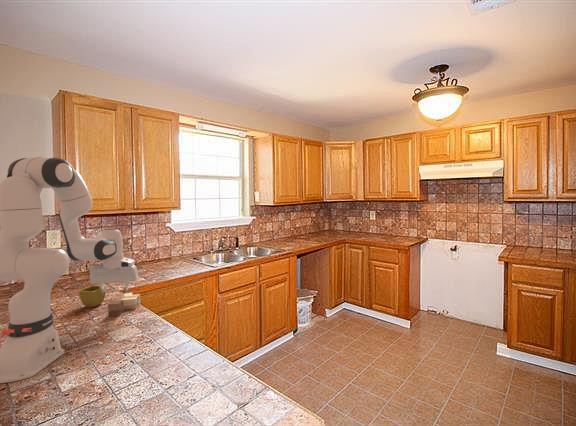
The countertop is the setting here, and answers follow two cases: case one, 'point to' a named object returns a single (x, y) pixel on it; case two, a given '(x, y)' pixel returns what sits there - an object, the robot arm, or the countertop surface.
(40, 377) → the countertop surface
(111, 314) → the walnut cube
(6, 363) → the robot arm
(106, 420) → the countertop surface
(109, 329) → the countertop surface
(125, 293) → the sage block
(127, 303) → the maple block
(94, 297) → the flower pot
